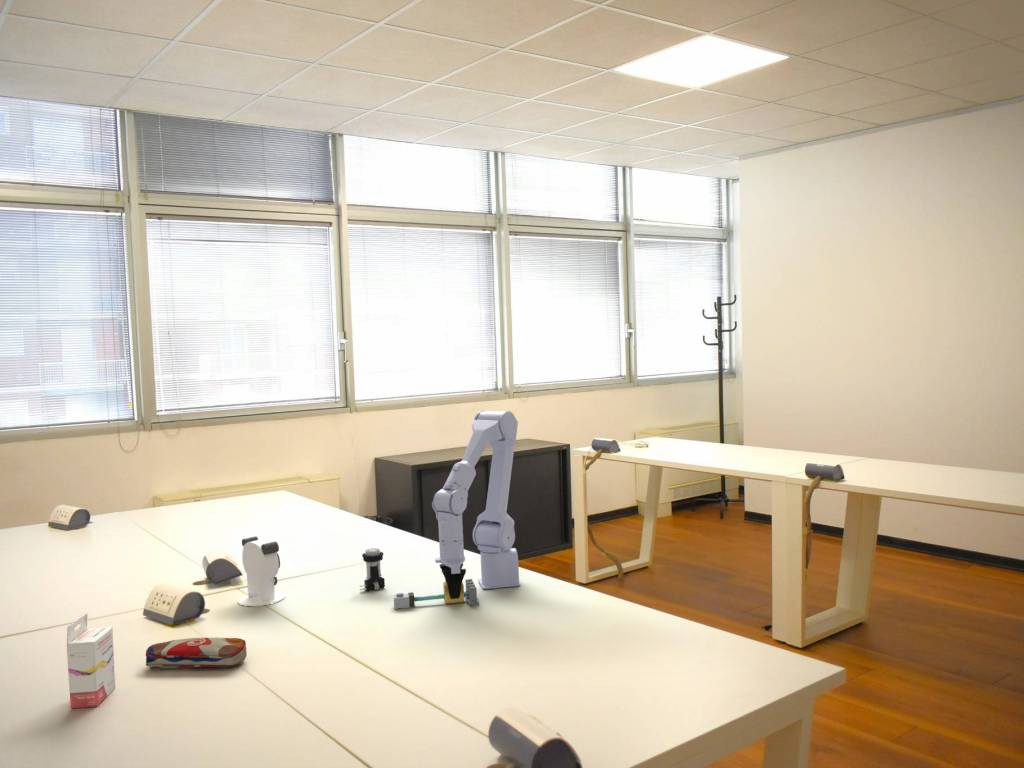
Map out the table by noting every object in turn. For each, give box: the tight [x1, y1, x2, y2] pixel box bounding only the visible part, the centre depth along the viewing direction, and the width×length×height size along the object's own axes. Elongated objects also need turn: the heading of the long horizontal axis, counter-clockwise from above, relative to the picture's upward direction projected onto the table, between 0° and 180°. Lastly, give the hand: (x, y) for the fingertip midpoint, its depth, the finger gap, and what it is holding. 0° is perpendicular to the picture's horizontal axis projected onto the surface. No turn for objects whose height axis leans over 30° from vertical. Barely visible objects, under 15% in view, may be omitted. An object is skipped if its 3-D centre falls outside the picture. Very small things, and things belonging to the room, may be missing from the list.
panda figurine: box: [237, 535, 286, 607], centre depth 209 cm, size 12×11×15 cm
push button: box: [359, 547, 386, 592], centre depth 214 cm, size 7×5×10 cm
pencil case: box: [145, 637, 248, 669], centre depth 167 cm, size 11×20×5 cm, turn 71°
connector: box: [393, 592, 410, 610], centre depth 199 cm, size 4×3×3 cm
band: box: [407, 591, 416, 608], centre depth 199 cm, size 1×3×3 cm, turn 10°
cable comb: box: [464, 578, 480, 607], centre depth 202 cm, size 2×9×4 cm, turn 11°
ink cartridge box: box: [66, 613, 116, 709], centre depth 152 cm, size 9×5×15 cm, turn 5°
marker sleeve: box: [442, 581, 465, 605], centre depth 201 cm, size 4×3×4 cm
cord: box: [414, 591, 468, 602], centre depth 200 cm, size 16×1×1 cm, turn 101°
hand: (453, 595), depth 201 cm, fingers closed on marker sleeve, 3 cm apart
